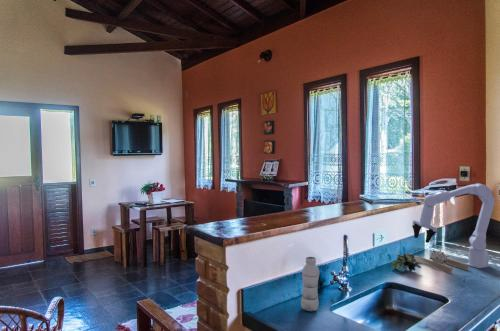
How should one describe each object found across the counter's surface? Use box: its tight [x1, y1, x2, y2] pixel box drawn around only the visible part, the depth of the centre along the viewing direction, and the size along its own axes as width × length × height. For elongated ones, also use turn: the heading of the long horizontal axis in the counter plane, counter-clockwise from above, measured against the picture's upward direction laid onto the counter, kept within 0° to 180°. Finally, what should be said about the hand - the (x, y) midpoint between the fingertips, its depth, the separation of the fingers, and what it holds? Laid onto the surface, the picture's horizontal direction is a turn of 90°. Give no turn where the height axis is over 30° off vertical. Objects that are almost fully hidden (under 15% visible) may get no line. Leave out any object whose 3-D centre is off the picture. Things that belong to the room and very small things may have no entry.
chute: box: [413, 252, 469, 274], centre depth 197 cm, size 14×22×3 cm, turn 25°
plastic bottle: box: [300, 256, 320, 312], centre depth 139 cm, size 6×7×20 cm
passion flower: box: [390, 252, 422, 274], centre depth 186 cm, size 11×11×12 cm
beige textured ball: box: [428, 249, 450, 265], centre depth 197 cm, size 9×8×10 cm
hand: (421, 240), depth 206 cm, fingers open, 7 cm apart
